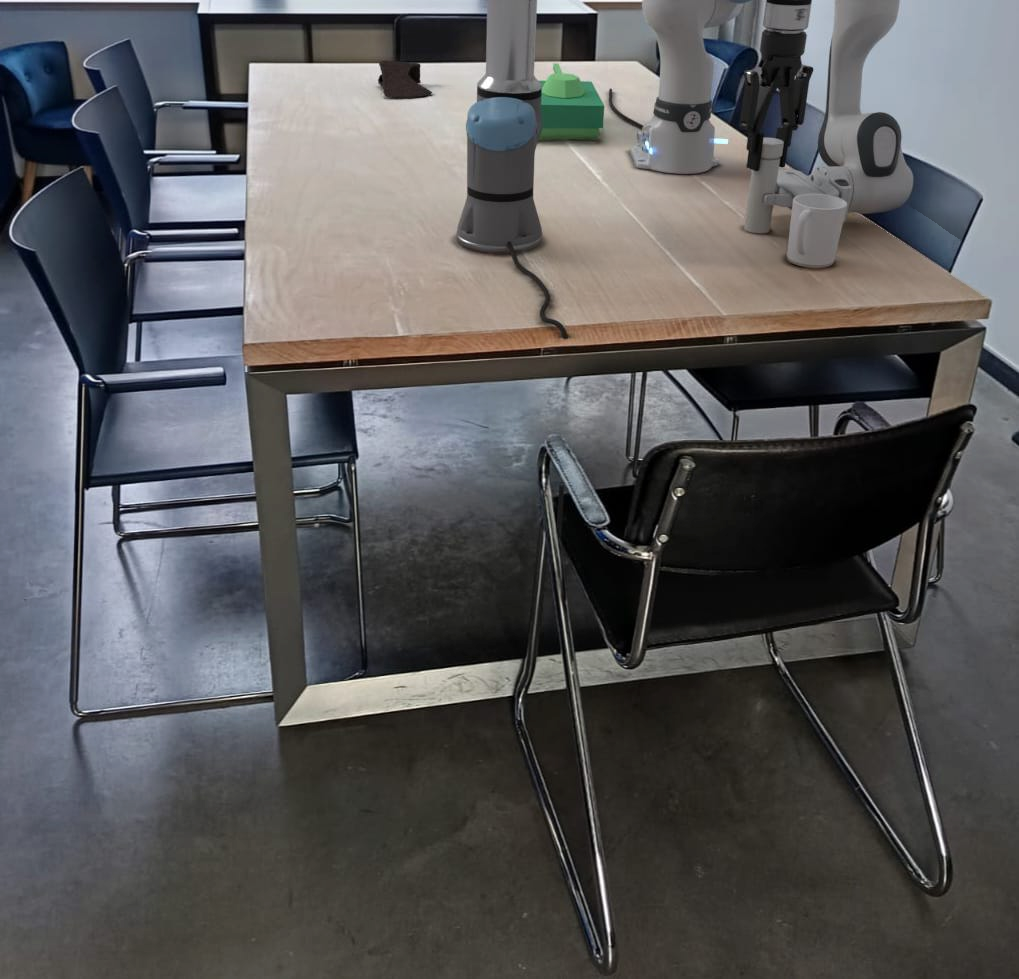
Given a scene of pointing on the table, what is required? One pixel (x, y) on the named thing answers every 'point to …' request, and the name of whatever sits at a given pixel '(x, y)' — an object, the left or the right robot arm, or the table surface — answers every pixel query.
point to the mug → (815, 229)
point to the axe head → (401, 79)
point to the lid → (772, 148)
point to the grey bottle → (761, 196)
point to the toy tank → (570, 108)
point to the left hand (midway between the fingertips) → (765, 167)
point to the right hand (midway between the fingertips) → (757, 194)
